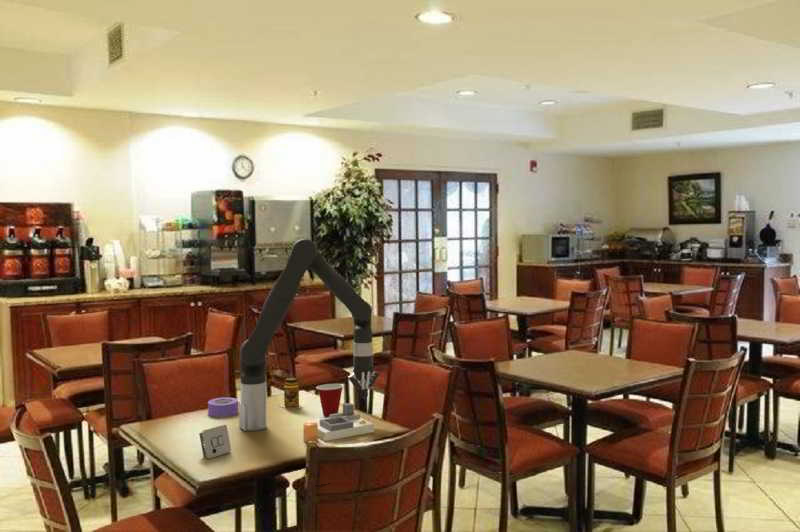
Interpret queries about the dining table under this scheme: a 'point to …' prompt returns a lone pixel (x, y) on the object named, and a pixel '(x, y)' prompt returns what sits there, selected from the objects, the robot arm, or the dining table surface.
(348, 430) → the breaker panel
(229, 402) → the tape roll
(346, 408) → the breaker toggle
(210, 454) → the electrical switch
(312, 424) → the cap
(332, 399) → the plastic cup
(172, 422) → the dining table surface
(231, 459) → the dining table surface
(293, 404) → the condiment
